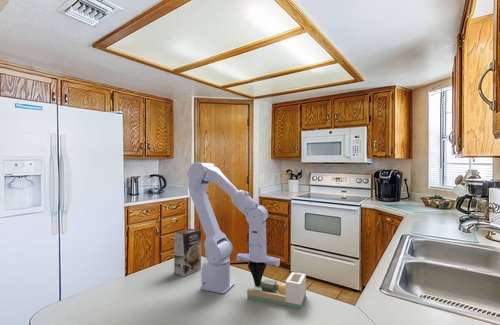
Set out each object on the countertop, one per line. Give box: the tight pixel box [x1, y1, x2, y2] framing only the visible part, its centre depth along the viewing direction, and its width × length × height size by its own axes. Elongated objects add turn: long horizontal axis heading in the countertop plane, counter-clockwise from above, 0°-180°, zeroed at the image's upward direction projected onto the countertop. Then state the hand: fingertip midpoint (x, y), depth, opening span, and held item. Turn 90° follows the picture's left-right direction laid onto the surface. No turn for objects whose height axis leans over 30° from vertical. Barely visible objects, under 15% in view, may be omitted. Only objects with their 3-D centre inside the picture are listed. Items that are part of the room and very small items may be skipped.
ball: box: [278, 282, 286, 295], centre depth 82 cm, size 4×4×4 cm
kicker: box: [262, 278, 278, 293], centre depth 84 cm, size 4×3×3 cm
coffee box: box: [173, 228, 202, 277], centre depth 106 cm, size 9×6×16 cm
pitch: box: [246, 271, 307, 310], centre depth 83 cm, size 17×8×7 cm, turn 67°
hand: (257, 285), depth 86 cm, fingers closed
